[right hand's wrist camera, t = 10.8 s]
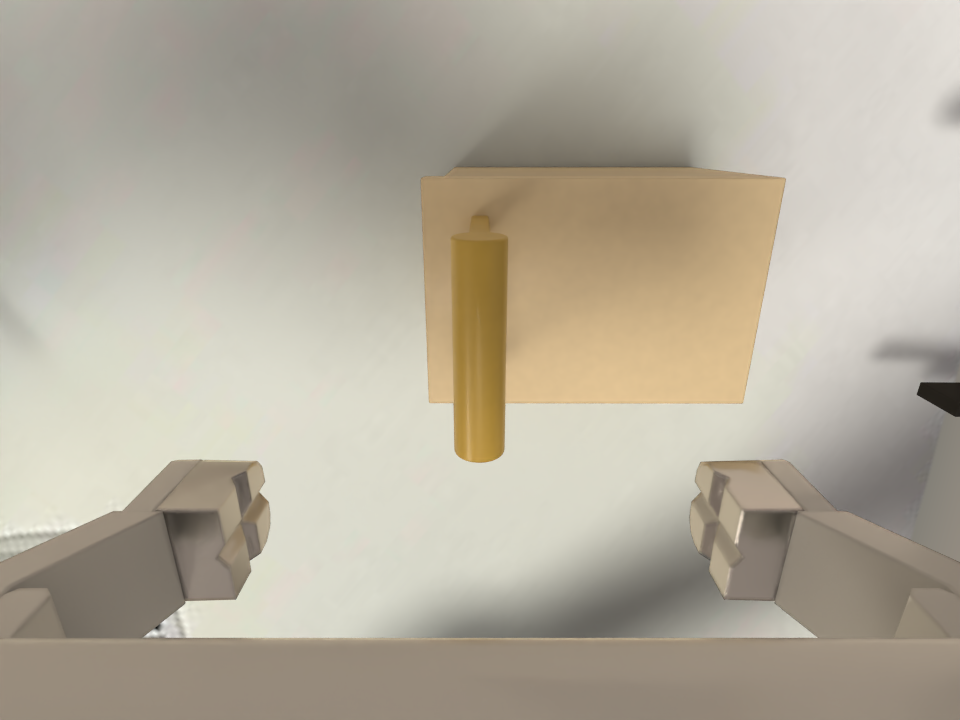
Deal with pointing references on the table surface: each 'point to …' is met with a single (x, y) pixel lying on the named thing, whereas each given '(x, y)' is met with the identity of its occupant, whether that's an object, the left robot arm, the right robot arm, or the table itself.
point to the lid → (590, 291)
